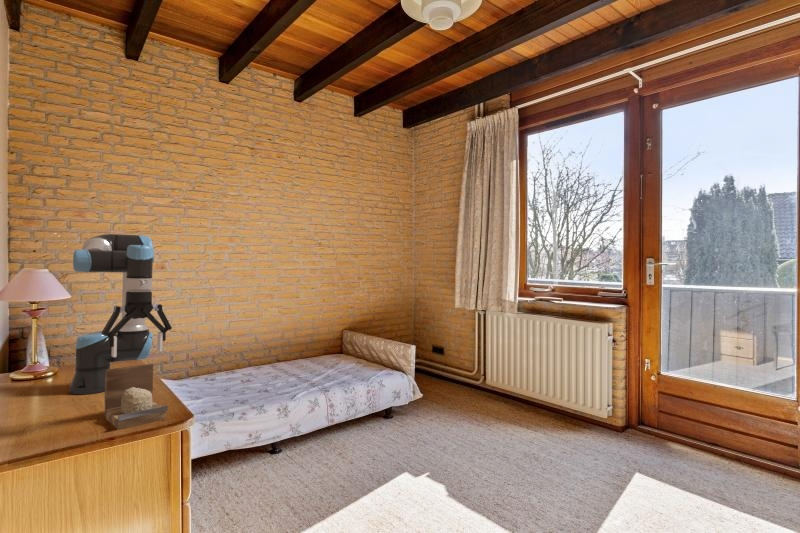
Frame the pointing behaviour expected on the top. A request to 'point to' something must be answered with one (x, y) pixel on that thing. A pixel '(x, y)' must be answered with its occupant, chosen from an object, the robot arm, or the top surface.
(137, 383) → the board
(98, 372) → the robot arm
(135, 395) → the sponge
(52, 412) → the top surface
